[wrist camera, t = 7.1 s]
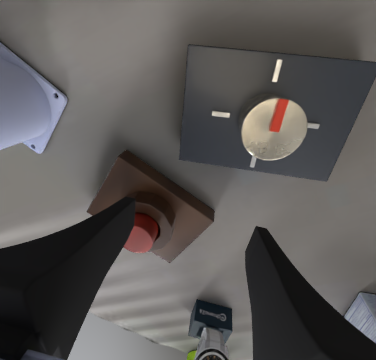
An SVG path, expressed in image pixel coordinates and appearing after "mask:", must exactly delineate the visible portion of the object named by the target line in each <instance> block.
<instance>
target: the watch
mask: <svg viewBox="0 0 376 360" xmlns="http://www.w3.org/2000/svg"><path fill="white" fill-rule="evenodd" d="M231 333H232V309H230V308H226V307H223V306H219V305H216V304H212V303H208V302H205V301H201V300H198V299H197V300H196V303H195V305H194V308H193V311H192V313H191V319H190V326H189V333H188V336H191V337H195V338H198V339H200V343H199V344H198V348H197V352H196V354H195V358H194V360H229V355H228V350H227V346H225V343H226V341H227V340H228V338H229V336H230V334H231Z"/></svg>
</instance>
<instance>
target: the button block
mask: <svg viewBox="0 0 376 360" xmlns="http://www.w3.org/2000/svg"><path fill="white" fill-rule="evenodd" d="M124 197H131V198H135V199H136V203H135V213H144V214H147V215H149V216H150V217H152V218H153V219H154V220H155V221H156V223H157V225H158V233H157V236H156V238H155V241H154V243H153V246H152V248H151V249H150V250H149V251H148V252H150V251H151V252H152V253H154V254H156V255H157V256H159V257H160V258H162V259H164V260H165V261H167V262H168V263H170V262H171V261H173V260H174V259H175V258H176V257H177V256H178V255H179V254H180V253H181V252H182V251H183V250H184V249H185V248H186V247H187V246H188V245H190V244H191V243H192V242H193V241H194V240H195V239H196V238H197V237H198V236H199V235H200V234H201V233H202V232H203V231H204V230H206V229H207V228H208V227H209V226H210V225H211V224H212V223H213V222H214V213H215V211H214V210H212V209H211V208H210V207H208V206H207V205H205V204H204V203H202V202H201V201H199V200H198V199H197V198H195V197H194V196H192V195H191V194H189V193H188V192H187V191H185V190H184V189H182V188H181V187H179V186H178V185H176V184H175V183H174V182H172V181H171V180H169V179H168V178H166V177H165V176H164V175H162V174H161V173H159V172H158V171H156V170H155V169H153V168H152V167H151V166H149V165H148V164H146V163H145V162H143V161H142V160H141V159H139V158H138V157H136V156H135V155H133V154H132V153H130V152H129V151H128V150H125V151H124V152H123V153H122V154H120V155H119V156H118V157H117V159H116V161H115V163H114V164H113V166H112V168H111V170H110V171H109V173H108V175H107V177H106V178H105V180H104V182H103V184H102V185H101V187H100V189H99V191H98V192H97V194H96V196H95V198H94V199H93V201H92V203H91V205H90V206H89V208H88V210H87V212H88V213H89V214H91V215H95V214H97V213H99V212H101V211H102V210H104V209H106V208H108V207H109V206H111V205H113V204H114V203H116V202H117V201H119V200H121V199H122V198H124Z"/></svg>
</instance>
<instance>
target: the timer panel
mask: <svg viewBox="0 0 376 360" xmlns="http://www.w3.org/2000/svg"><path fill="white" fill-rule="evenodd" d="M375 77H376V62H370V61H359V60H349V59H338V58H328V57H317V56H307V55H296V54H286V53H275V52H264V51H254V50H243V49H233V48H222V47H212V46H201V45H191V44H189V45H188V53H187V66H186V79H185V92H184V105H183V118H182V130H181V143H180V156H179V160H184V161H191V162H197V163H204V164H211V165H218V166H224V167H231V168H238V169H245V170H251V171H258V172H265V173H272V174H279V175H285V176H292V177H299V178H306V179H312V180H319V181H327V180H328V178H329V176H330V174H331V172H332V170H333V167H334V165H335V163H336V161H337V159H338V157H339V155H340V152H341V150H342V148H343V146H344V144H345V142H346V140H347V137H348V135H349V133H350V131H351V129H352V127H353V125H354V122H355V120H356V118H357V116H358V114H359V112H360V110H361V107H362V105H363V103H364V101H365V99H366V97H367V95H368V92H369V90H370V88H371V86H372V84H373V82H374V80H375ZM265 92H272V93H276V94H279V95H281V96H284V97H286V98H288V99H290V100H292V101H294V102H296V103H297V104H299V105H300V106H301V107H302V109H303V110H304V112H305V114H306V117H307V122H308V127H307V133H306V136H305V138H304V140H303V142H302V143H301V145H300V146H299V147H298V148H297V149H296V150H295V151H294V152H293V153H291V154H290V155H288V156H286V157H284V158H281V159H277V160H262V159H259V158H256V157H254V156H253V155H251V154H250V153H249V152H248V151H247V150H246V149H245V147H244V145H243V143H242V139H241V135H240V131H239V126H238V117H239V113H240V111H241V109H242V107H243V106H244V104H245V103H246V102H247V101H248V100H249V99H250V98H252V97H253V96H255V95H257V94H260V93H265Z"/></svg>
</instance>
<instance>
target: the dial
mask: <svg viewBox="0 0 376 360" xmlns="http://www.w3.org/2000/svg"><path fill="white" fill-rule="evenodd" d="M238 126H239V131H240V135H241V139H242V143H243V145H244V147H245V149H246V150H247V151H248V152H249V153H250V154H251V155H253V156H254V157H256V158H259V159H262V160H277V159H281V158H284V157H286V156H288V155H290V154H291V153H293V152H294V151H295V150H296V149H297V148H298V147H299V146H300V145H301V143H302V142H303V140H304V138H305V136H306V133H307V127H308V122H307V117H306V114H305V112H304V110H303V109H302V107H301V106H300V105H299V104H297V103H296V102H294V101H292V100H290V99H288V98H286V97H284V96H281V95H279V94H276V93H272V92H265V93H260V94H257V95H255V96H253V97H252V98H250V99H249V100H248V101H247V102H246V103H245V104H244V106H243V107H242V109H241V111H240V113H239V117H238Z"/></svg>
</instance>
